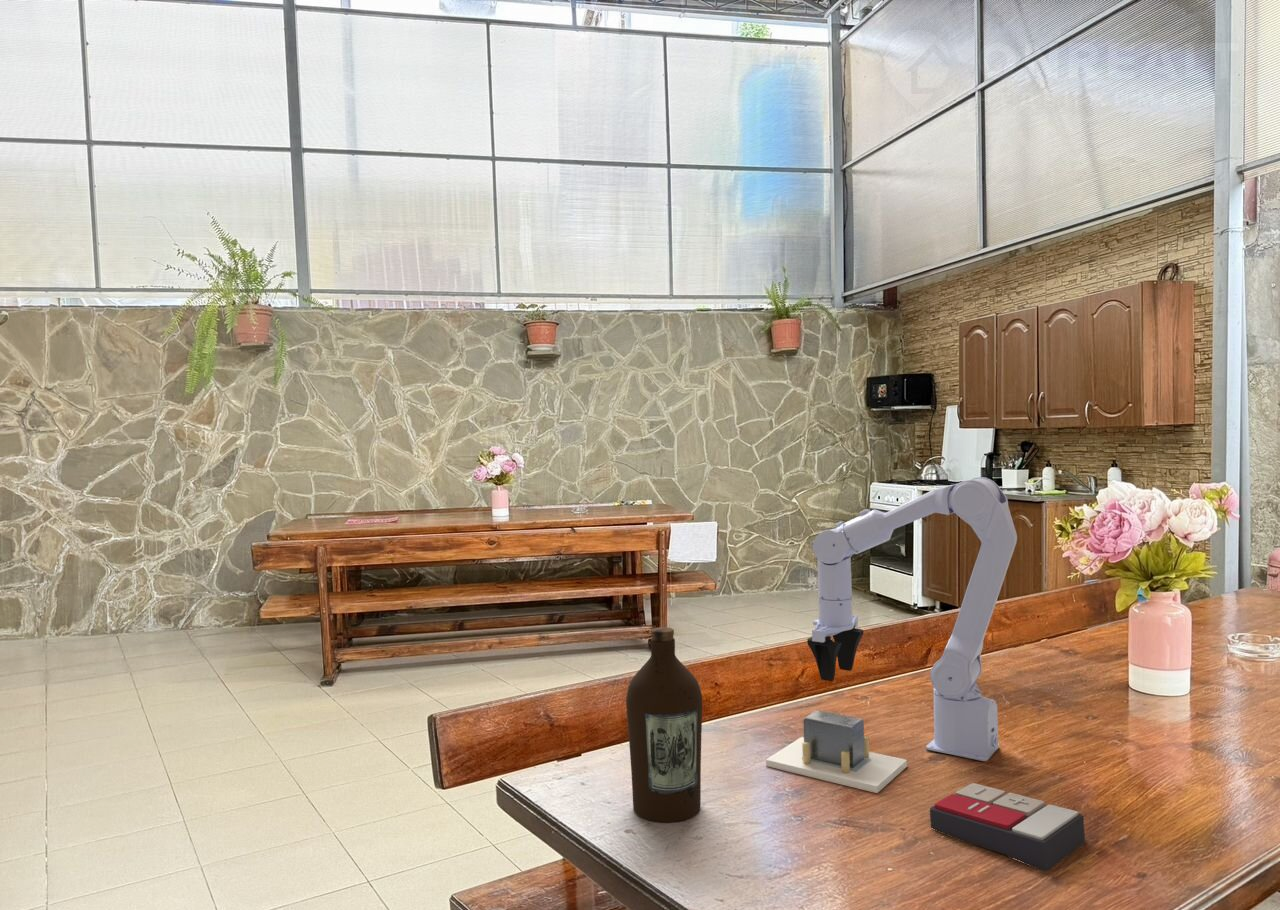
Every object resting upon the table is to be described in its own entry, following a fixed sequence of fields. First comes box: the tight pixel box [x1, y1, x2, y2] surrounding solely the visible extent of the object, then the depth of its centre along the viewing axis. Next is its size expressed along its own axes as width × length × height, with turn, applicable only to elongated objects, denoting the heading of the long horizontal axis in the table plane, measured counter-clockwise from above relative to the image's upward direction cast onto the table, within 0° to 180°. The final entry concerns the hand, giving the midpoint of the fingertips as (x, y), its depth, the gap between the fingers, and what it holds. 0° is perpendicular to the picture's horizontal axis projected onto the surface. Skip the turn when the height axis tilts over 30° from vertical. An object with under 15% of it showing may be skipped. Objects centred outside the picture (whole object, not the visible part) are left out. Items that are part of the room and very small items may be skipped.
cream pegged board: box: [765, 735, 908, 794], centre depth 130 cm, size 18×12×4 cm, turn 52°
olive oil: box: [625, 626, 703, 823], centre depth 117 cm, size 11×11×25 cm
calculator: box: [929, 782, 1086, 872], centre depth 107 cm, size 11×4×15 cm
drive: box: [803, 710, 865, 768], centre depth 130 cm, size 8×4×6 cm, turn 54°
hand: (836, 674), depth 147 cm, fingers open, 7 cm apart
